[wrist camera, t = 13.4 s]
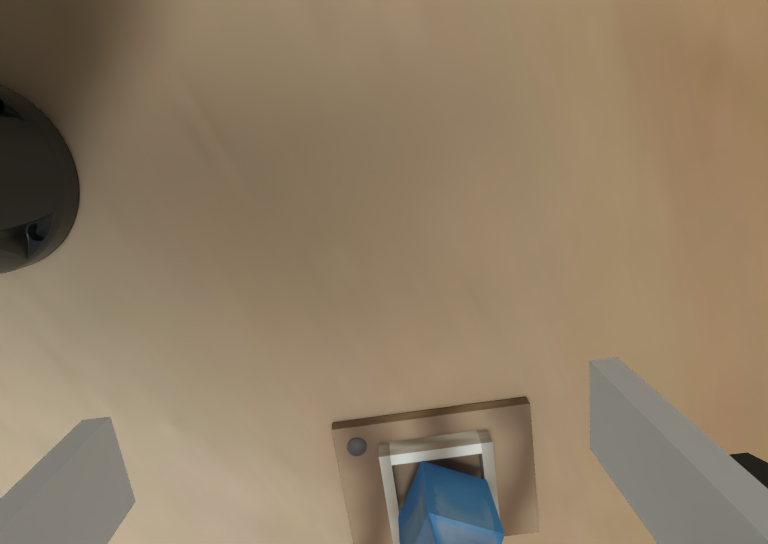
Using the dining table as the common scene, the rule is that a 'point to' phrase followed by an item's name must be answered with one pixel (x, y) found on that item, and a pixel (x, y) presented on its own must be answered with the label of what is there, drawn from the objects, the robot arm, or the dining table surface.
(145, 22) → the dining table surface
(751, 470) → the robot arm
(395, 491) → the brown board with frame
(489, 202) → the dining table surface
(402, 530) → the perfume bottle
